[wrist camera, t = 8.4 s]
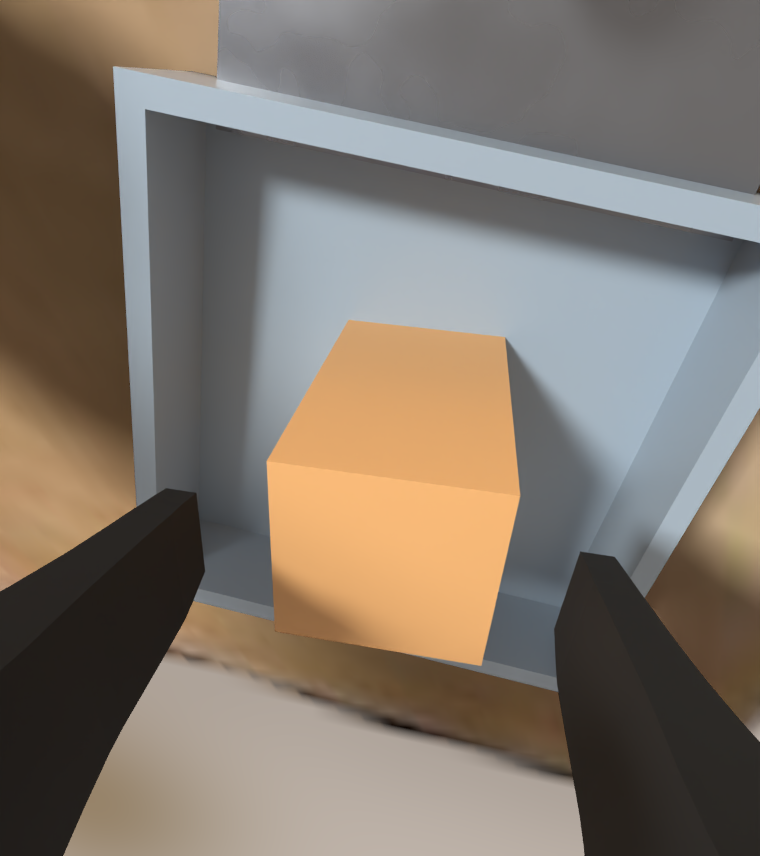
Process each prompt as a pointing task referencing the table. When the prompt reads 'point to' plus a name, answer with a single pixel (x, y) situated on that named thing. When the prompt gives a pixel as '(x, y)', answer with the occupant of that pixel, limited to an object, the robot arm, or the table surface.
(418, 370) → the orange rectangular block
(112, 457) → the table surface
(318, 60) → the stud plate
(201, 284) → the slate bin
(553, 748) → the table surface
